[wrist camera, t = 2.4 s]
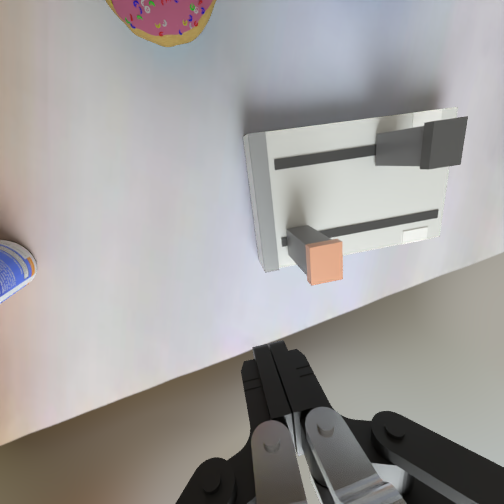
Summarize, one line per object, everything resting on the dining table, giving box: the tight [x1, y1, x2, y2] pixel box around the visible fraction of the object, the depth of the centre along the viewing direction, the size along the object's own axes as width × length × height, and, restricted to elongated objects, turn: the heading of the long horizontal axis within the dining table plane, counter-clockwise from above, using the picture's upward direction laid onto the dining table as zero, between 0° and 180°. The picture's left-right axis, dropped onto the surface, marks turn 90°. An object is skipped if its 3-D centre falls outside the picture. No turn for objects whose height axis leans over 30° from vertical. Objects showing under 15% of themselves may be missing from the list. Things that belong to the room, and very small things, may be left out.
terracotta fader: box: [286, 225, 343, 285], centre depth 24 cm, size 3×3×7 cm
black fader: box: [375, 116, 468, 170], centre depth 22 cm, size 3×3×7 cm
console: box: [243, 107, 458, 273], centre depth 28 cm, size 14×22×3 cm, turn 97°
